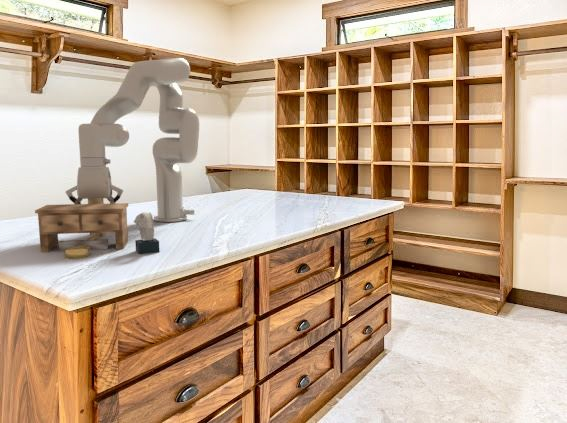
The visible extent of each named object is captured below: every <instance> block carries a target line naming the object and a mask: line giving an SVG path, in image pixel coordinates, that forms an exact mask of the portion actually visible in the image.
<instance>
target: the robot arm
mask: <svg viewBox="0 0 567 423" xmlns="http://www.w3.org/2000/svg"><path fill="white" fill-rule="evenodd" d="M190 74H191V66H190V64H189V62H188V61H187V60H186V59H185V58H182V57H173V58H172V57H171V58H160V59H151V60H150V59H149V60H142V61H139V60H138V61H136V62H134V63H132V64H131V66H130V67H129V69H128V71H127V73H126V74H125V77H124V79H123V81H122V83H121V84H120V87H119V89H118V90H117V92H116V94H115V95H113V96H112V97H111V98H109V99H108V100H107V101H106V102H105V103H104V104H103V105H102V106H100V108H99V109H98V110H97V111H96V112H95V114H94V115H93V117H92V120H91V121H90V123H81V124H79V125H78V132H77V133H78V146H79V162H80V163H79V164H80V167H78V169H77V177H76V178H77V180H76V185H75V186H73V187H71V188H70V189H68V190H65V194H66V196H67V197H68V199H69V200H70V201H71V202H72V203H73V204H82V203H81V202H82V201H83V200H88V198H101V199H103V200H104V199H107V201H108V202H109V204H115V203H117V202H118V201H119V199H120V198H121V197H122V194H123V192H124V190H123V189H122V188H120V187H117V186H115V185H113V184H112V183H113V182H112V175H111V171H110V167H109V166H107V165H108V164H111V159H108V158H107V157H106V147H108V148H109V147H110V148H118V147H122V146H125V145H126V144H127V143H128V141H129V139H130V133H129V130H128V128H127V127H126V126H124V125H122V124H119V123H116V122H117V121H119V119H121V118H123V117H125V116H126V115H129V114H131V113H133V112H135V111H136V110H138V109H139V108H140V107H141V105H142V103H143V102H144V99H145V97H146V95H147V93H148V91H149V89H150V87H156V89H157V90H158V94H159V112H158V114H159V115H158V128H159V130H160V131H161V132H162V133H164V134H167V135H179V137H174V136H173V137H171V136H170V137H169V136H168V137H165V136H164V137H160V138H158V139H156V140H155V142H154V143H153V144H152V156H153V160H154V164H155V175H156V199H157V202H156V204H157V215H155V216H154V217H153V221H155V222H159V223H161V222H162V223H175V222H176V223H177V222H183V221H186V220H187V219H188V215H189V216H194V215H195V209H186V208H184V206H183V204H184V203H183V176H182V175H183V173H182V171H181V167H180V166H179V164H190V163H193V162H194V161H195V159H196V157H197V155H198V151H199V149H198V148H199V136H200V118H199V116H198V114H197V112H196V111H195V110H194V109H192V108H187V107H184V106H183V105H184V98H183V92H182V90H181V88H180V87H179V85H178V84H177V83H183V82H186V81H187V80H189V79H188V78H190ZM113 191H114V192H116V193H117V194H116V195H115V196H112V195H113ZM74 192H76V194H77V198H76V197H75V196H74V195H73V193H74Z"/></svg>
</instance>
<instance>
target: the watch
mask: <svg viewBox="0 0 567 423" xmlns="http://www.w3.org/2000/svg"><path fill="white" fill-rule="evenodd" d="M133 223H134V224H135V225H136V227H137V230H138V231H139V235H140V238H141V239H135V241H134V244H135V252H136V253H137V254H138V255H143V254H145V255H146V254H153V253H160V240H158V239H157V238H154V237H155V227H154V217H153V215H152V212H141V213H139V214H138V215H136V217H135V219H134V220H133Z"/></svg>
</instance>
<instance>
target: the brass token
mask: <svg viewBox="0 0 567 423" xmlns="http://www.w3.org/2000/svg"><path fill="white" fill-rule="evenodd" d="M90 252H91V250H89V246H72V247H68V248H66V249H65V251H64V254H65V258H66V259H67V258H68V260H80V258H81V259H85V258H88V257H90V256H91V253H90Z"/></svg>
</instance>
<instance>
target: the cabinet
mask: <svg viewBox="0 0 567 423" xmlns="http://www.w3.org/2000/svg"><path fill="white" fill-rule="evenodd" d="M128 207H129V203H128V202H127V203H126V202H121V203H120V202H119V203H117V202H116V203H115V204H110V203H104V204H88V203H81V204H74V203H73V204H71V203H70V204H68V203H67V204H46V205H44V206H41V207H39V208H38V209H35V210H34V214H37V217H38V218H37V220H38V231H39V246H40V253H49V252H50V251H51V250H52V249H54V248H55V247H57V246H59V235H62V234H63V235H67V234H68V235H69V234H90V233H103V232H105V233H115V234H114V236H115V250H124V249H125V247H126V246H127V244H128V243H129V235H128V234H129V232H128V215H127V214H128V213H127V212H128V211H127V208H128Z"/></svg>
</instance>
